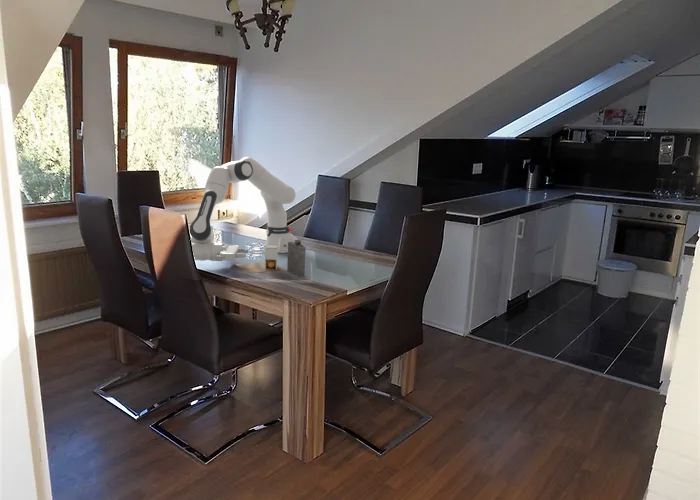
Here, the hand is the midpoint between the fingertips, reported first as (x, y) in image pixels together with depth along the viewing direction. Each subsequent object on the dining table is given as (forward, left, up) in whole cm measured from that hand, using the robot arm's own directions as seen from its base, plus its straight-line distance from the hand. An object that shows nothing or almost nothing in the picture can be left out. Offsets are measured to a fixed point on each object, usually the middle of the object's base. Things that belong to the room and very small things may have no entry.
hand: (247, 253), depth 272 cm
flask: (-19, +19, -8) cm, 28 cm away
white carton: (-11, +5, -7) cm, 14 cm away
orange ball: (-11, +5, -5) cm, 13 cm away
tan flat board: (-6, +2, -8) cm, 10 cm away
